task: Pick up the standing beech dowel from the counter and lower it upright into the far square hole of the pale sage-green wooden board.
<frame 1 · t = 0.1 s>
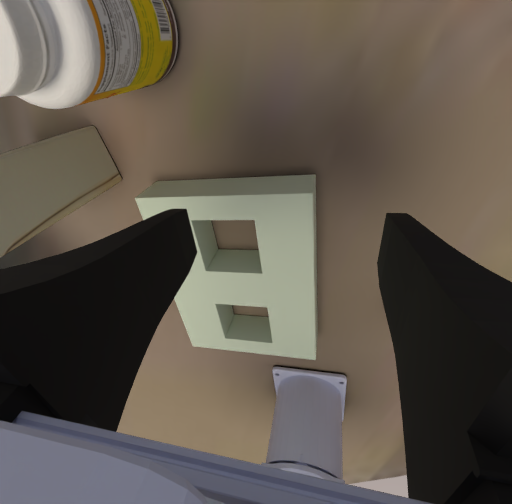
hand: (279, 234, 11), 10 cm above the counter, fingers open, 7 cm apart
skincare box: (82, 158, 23), on the counter
supplement bottle: (139, 31, 17), on the counter
board: (246, 266, 25), on the counter
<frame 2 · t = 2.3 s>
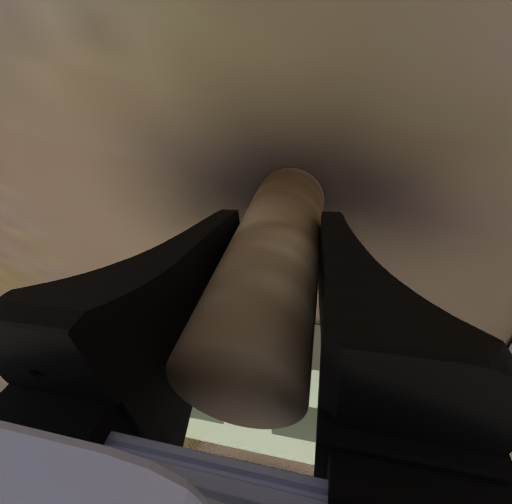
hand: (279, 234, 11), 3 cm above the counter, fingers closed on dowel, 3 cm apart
dowel: (289, 200, 13), on the counter, touching gripper
board: (254, 372, 22), on the counter
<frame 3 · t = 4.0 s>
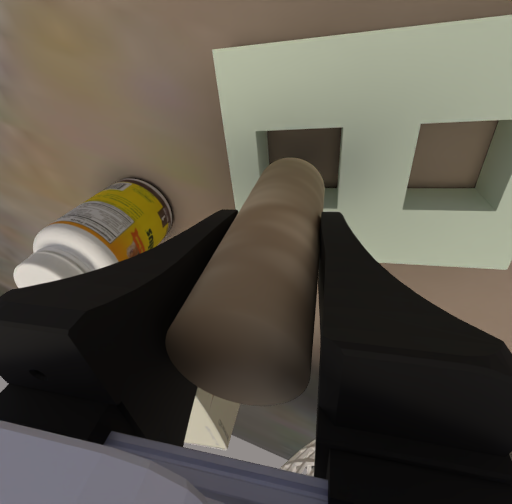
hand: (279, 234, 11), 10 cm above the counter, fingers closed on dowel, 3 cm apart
heart: (395, 400, 32), on the counter
dowel: (290, 191, 13), point 7 cm above the counter, touching gripper
skincare box: (238, 285, 27), on the counter
supplement bottle: (145, 206, 24), on the counter
board: (369, 153, 18), on the counter
when the fingers open (4 cm above the counter, at t = 5.9 s): dowel stays where it is, resting in board.
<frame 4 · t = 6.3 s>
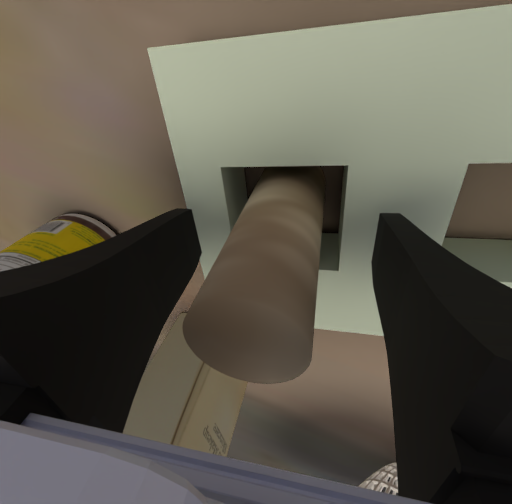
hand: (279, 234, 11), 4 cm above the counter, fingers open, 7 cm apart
heart: (405, 462, 27), on the counter
dowel: (292, 185, 14), resting in board
skincare box: (217, 336, 22), on the counter
supplement bottle: (97, 245, 19), on the counter
board: (382, 191, 13), on the counter
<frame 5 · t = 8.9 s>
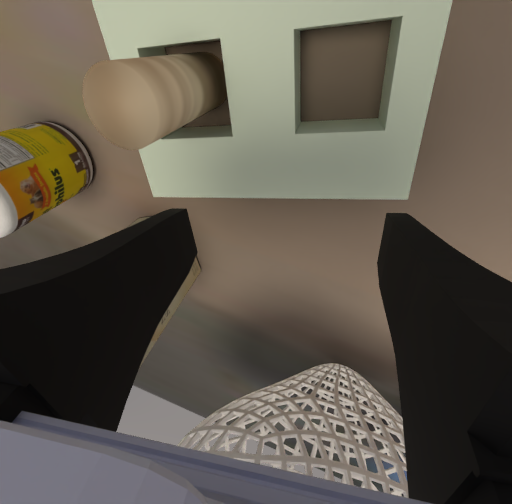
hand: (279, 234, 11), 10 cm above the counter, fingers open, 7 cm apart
heart: (341, 366, 31), on the counter
dowel: (206, 81, 18), resting in board
skincare box: (170, 242, 26), on the counter
supplement bottle: (66, 155, 23), on the counter
board: (270, 82, 17), on the counter
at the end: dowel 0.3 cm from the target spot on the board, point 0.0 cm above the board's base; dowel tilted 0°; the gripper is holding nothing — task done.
